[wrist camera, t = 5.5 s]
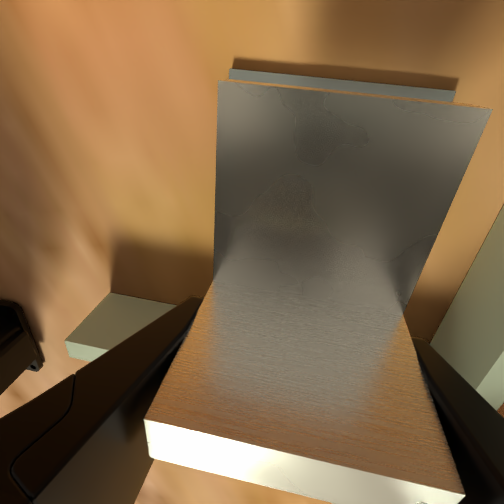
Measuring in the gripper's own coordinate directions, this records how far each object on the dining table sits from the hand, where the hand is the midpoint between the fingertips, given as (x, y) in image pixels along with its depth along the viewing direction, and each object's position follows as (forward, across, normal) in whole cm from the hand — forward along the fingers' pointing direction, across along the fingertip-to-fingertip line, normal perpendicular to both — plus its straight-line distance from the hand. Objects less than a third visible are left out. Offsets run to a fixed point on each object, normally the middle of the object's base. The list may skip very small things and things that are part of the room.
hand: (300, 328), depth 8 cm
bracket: (+2, 0, -2) cm, 3 cm away
